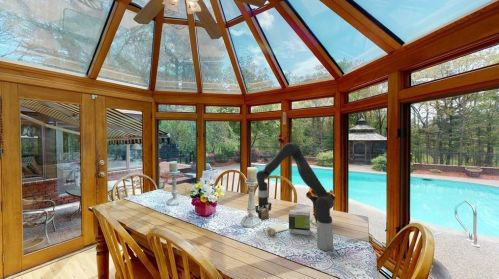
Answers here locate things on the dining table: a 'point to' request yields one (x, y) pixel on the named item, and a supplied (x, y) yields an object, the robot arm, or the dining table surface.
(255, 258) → the dining table surface
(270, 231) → the maple block
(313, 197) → the decorative vase
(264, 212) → the walnut cube
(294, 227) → the tea box
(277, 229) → the plate
